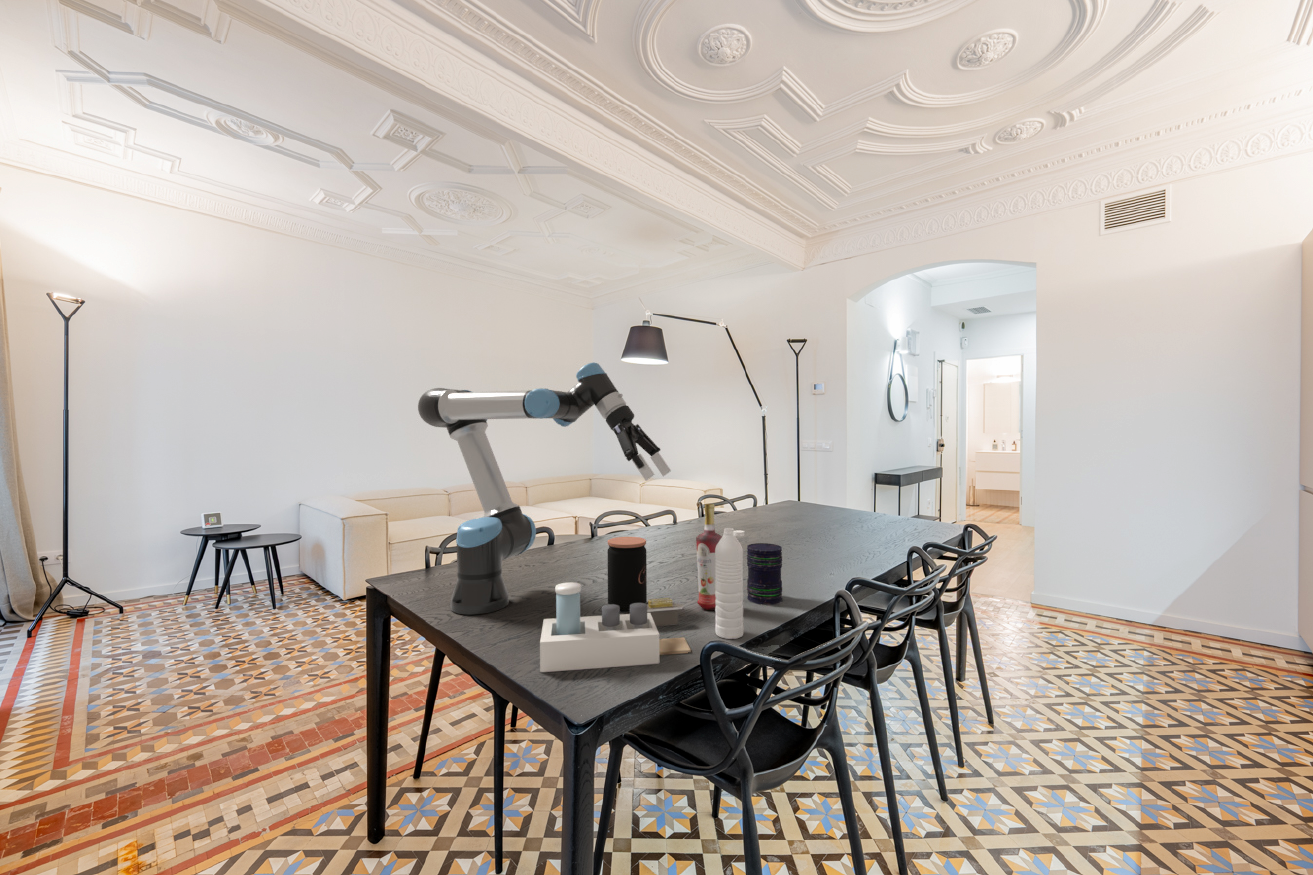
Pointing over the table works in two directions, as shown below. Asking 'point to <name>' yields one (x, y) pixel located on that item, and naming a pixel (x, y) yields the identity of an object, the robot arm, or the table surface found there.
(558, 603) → the cartridge
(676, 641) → the coaster
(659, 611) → the platform
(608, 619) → the button
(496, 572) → the robot arm
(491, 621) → the table surface
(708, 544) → the liquor
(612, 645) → the housing
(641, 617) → the button
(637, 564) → the coffee jar
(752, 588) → the storage jar
